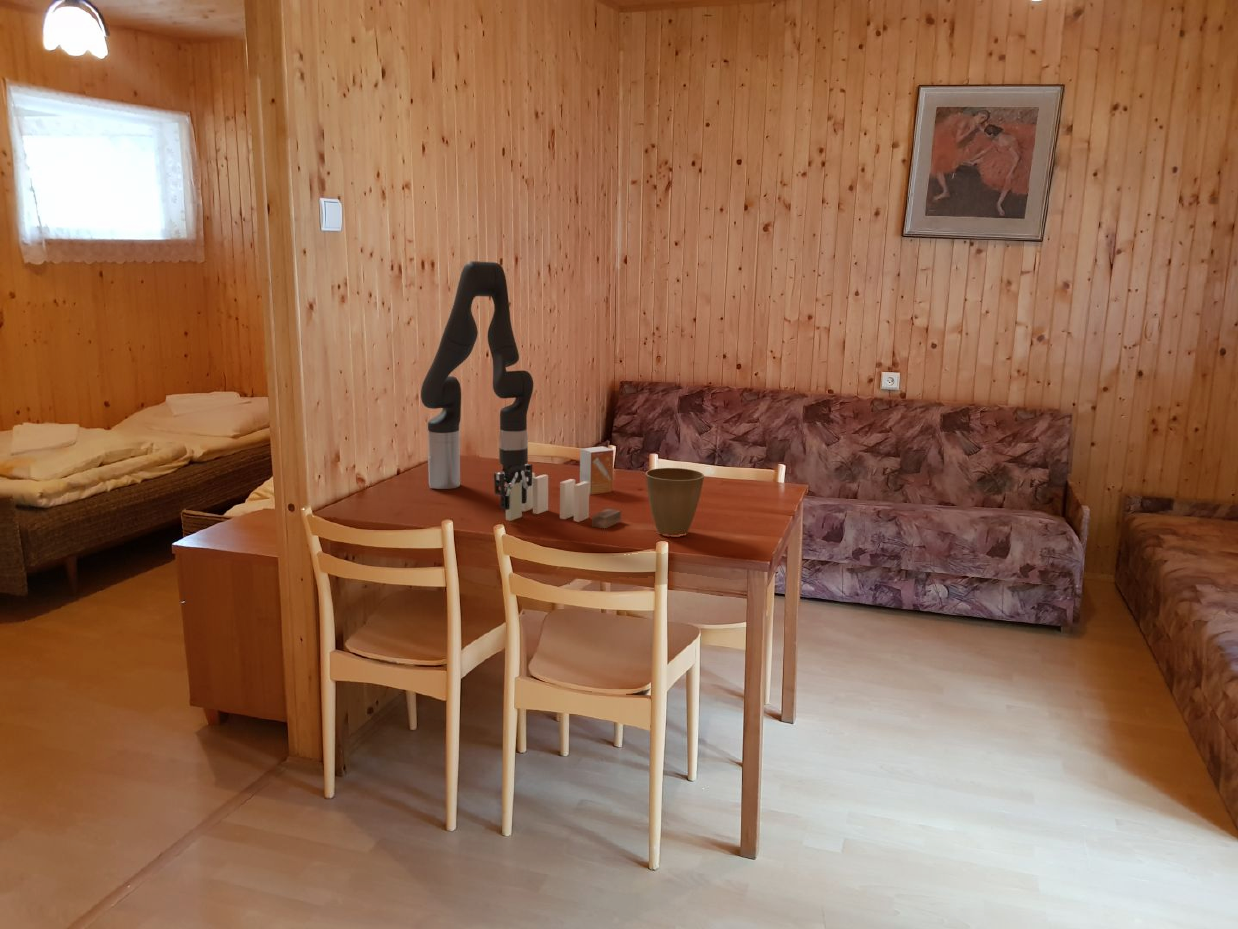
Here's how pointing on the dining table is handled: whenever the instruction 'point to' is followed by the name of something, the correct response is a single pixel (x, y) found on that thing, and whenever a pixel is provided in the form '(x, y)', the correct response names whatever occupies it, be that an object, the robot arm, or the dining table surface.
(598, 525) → the stop block
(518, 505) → the domino
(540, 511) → the domino
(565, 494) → the domino
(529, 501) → the domino
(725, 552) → the dining table surface
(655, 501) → the plant pot
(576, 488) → the domino
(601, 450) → the small box
